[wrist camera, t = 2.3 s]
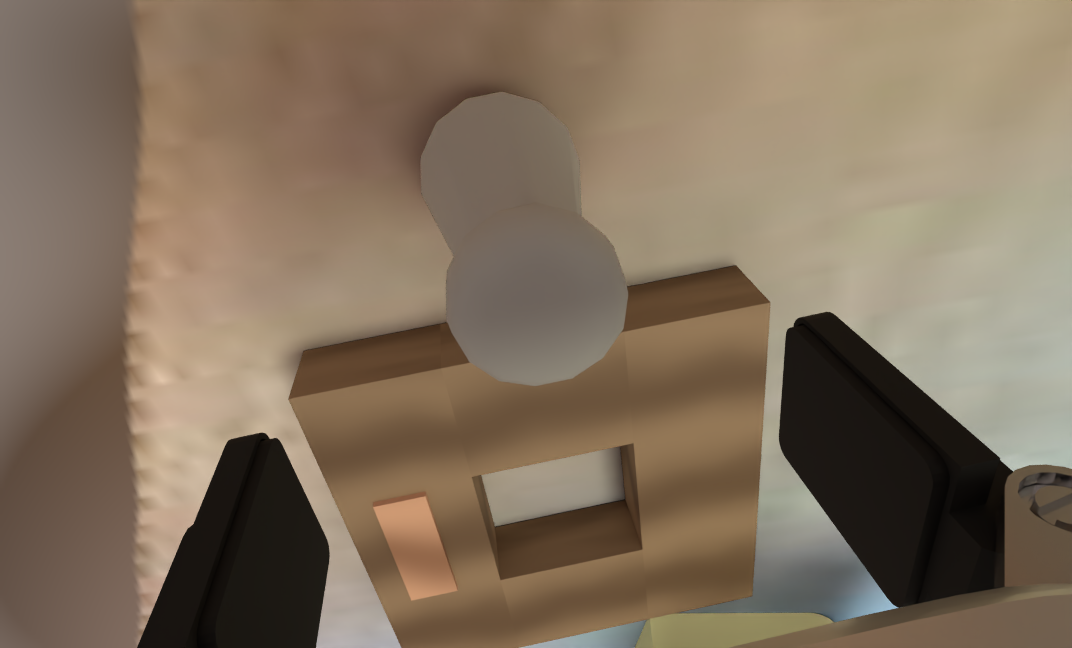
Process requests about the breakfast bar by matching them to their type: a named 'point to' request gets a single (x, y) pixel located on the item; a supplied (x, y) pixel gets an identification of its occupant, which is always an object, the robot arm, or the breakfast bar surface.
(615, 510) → the socket block
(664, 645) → the slatted curved stool
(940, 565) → the robot arm
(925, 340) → the breakfast bar surface
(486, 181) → the salt shaker
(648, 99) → the breakfast bar surface
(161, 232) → the breakfast bar surface
